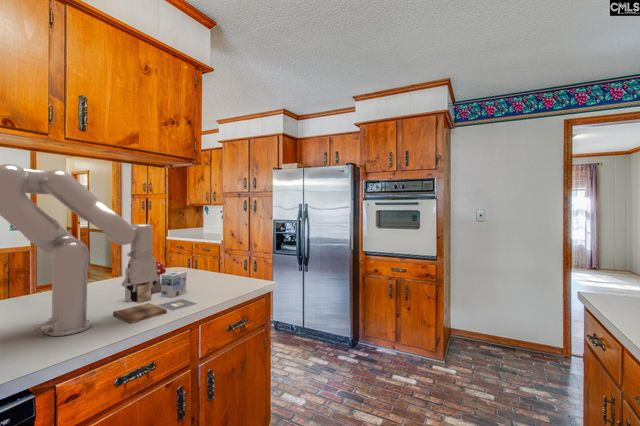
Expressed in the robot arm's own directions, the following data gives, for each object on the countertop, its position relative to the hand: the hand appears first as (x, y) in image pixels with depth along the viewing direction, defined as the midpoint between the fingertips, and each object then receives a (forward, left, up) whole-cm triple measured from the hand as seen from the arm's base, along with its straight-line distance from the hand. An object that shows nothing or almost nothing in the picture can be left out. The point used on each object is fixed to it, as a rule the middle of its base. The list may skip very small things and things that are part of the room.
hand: (141, 298), depth 124 cm
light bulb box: (+24, +16, -7) cm, 29 cm away
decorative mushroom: (+22, +29, -7) cm, 37 cm away
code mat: (+16, 0, -6) cm, 17 cm away
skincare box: (+9, +22, -7) cm, 25 cm away
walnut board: (0, 0, -6) cm, 6 cm away
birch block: (0, 0, -1) cm, 1 cm away
